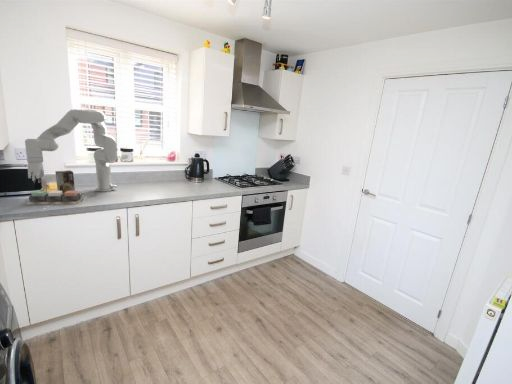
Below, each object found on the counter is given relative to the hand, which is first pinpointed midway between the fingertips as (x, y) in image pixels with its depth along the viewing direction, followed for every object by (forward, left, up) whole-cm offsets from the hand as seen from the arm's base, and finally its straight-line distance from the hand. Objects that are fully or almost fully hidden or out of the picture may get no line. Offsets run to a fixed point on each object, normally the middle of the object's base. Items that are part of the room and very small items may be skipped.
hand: (38, 188), depth 163 cm
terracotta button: (-17, 0, -6) cm, 18 cm away
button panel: (-9, 0, -9) cm, 12 cm away
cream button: (-9, 0, -6) cm, 10 cm away
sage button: (0, 0, -6) cm, 6 cm away
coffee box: (-9, -20, -9) cm, 24 cm away
